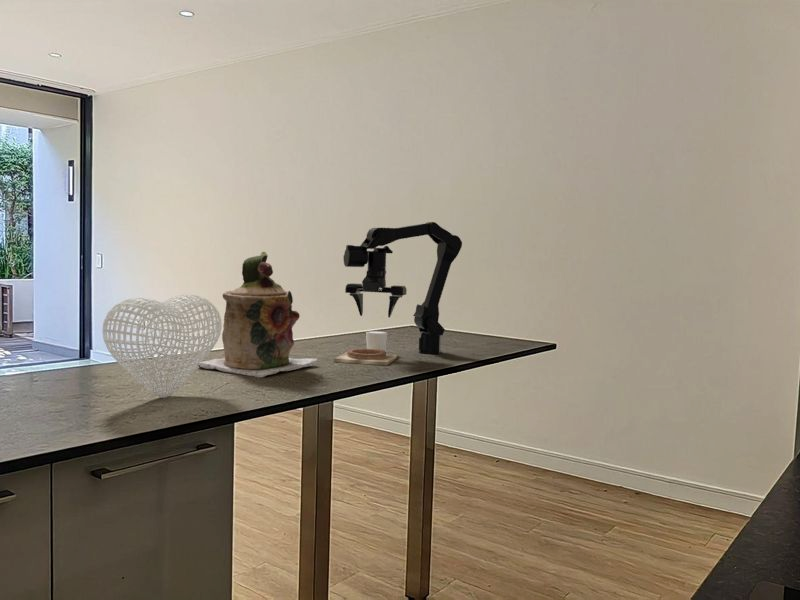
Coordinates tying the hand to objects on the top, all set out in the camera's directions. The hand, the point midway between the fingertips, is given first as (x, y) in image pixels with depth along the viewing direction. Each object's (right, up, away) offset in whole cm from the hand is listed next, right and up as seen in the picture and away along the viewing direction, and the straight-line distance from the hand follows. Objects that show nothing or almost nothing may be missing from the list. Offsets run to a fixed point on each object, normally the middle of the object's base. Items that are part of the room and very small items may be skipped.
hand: (375, 316), depth 226 cm
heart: (-44, -16, -70) cm, 84 cm away
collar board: (-2, -13, -11) cm, 17 cm away
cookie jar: (-31, -14, -29) cm, 45 cm away
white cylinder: (0, -12, +1) cm, 12 cm away
